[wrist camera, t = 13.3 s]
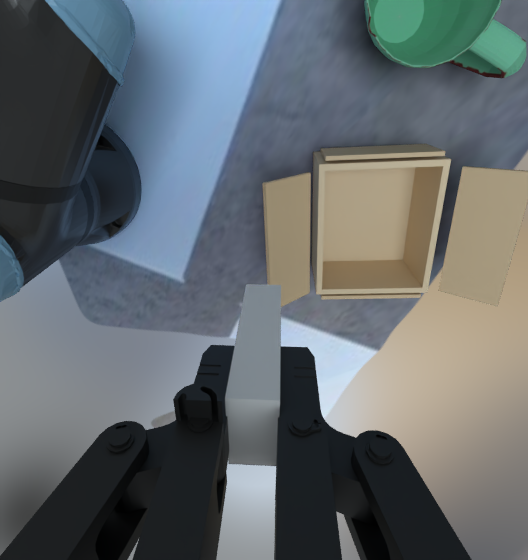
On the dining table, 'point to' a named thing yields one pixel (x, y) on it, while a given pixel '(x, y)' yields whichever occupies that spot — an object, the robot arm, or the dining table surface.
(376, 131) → the dining table surface
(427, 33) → the mug
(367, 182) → the carton
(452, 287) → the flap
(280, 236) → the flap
